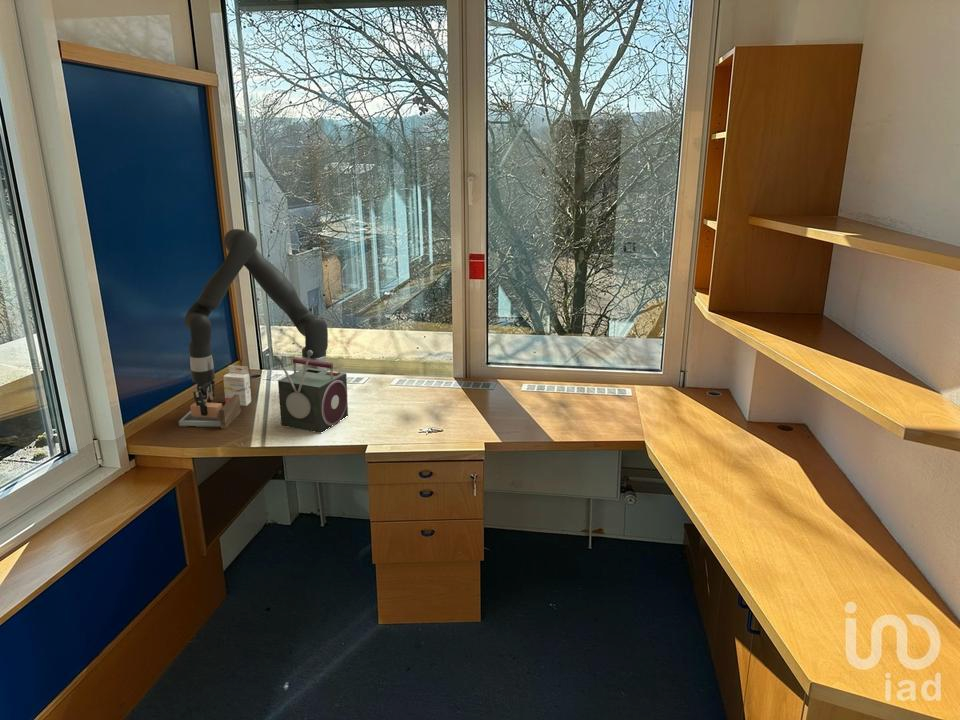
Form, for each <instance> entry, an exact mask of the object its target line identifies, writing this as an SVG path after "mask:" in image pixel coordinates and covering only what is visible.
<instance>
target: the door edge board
mask: <svg viewBox="0 0 960 720" xmlns="http://www.w3.org/2000/svg"><path fill="white" fill-rule="evenodd" d="M219 412H220V422H221V427H220V428H221V430H223V429H225V430H226V429H227V428H228V427H229V426H230V425H231V423H233V421H234V420H235V419H236V418H237V417H238V416H239V415H240V413H241V412H242V411H241V406H240V397H239V394H235V395H234V396H233V397H232V398H231V399H230V400H229V401H228V402H227V403H226V404H224V405H222V408H221V409H220V410H219Z"/></svg>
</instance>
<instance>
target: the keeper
mask: <svg viewBox="0 0 960 720" xmlns="http://www.w3.org/2000/svg"><path fill="white" fill-rule="evenodd" d="M178 426H179V427H187V426H196V428H197V427H201V428H203V427H204V428H221V422H220V417H218V418H212V417H198V416H191V410H190V411H188V412H187V413H186V414H185V415H184V416H183V417H181V418H180V419H179V420H178Z"/></svg>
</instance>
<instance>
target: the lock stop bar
mask: <svg viewBox="0 0 960 720" xmlns="http://www.w3.org/2000/svg"><path fill="white" fill-rule="evenodd" d="M189 407H190V411H191V416H198V417H212V418H218V417H220V412H219V410H220V409H221V408H222V407H223V403H221V402H220V403H218V402H212V403H207V412H208V414H207V415H206V416H203V415H201V411H200V406H197V405H196V401H195V402H193V403H191V405H189Z"/></svg>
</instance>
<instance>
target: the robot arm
mask: <svg viewBox="0 0 960 720" xmlns="http://www.w3.org/2000/svg"><path fill="white" fill-rule="evenodd" d="M223 241H224V242H223V243H224V246H225V248H226V250H227V251H228V253H227V256H226V257H225V259H224V261H223V262H222V263H221V265H220V267H219V268H218V269H217V270H216V271H215V272H214V273H213V274H212V276H210V278H209V280H208V281H207V282H206V284H205V285H204V287H203V289H202V291H201V293H200V295H199V296H198V298H197V300H196V301H195V302H194V303H193V304H192V306H191V307H190V308H189V309H188V311H187V313H186V314H185V316H184V320H183V321H184V325H185V327H186V328H187V329H188V330H190V331H189V332H190V339H191V340H190V341H189V343H188V345H189V346H188V350H189V358H190V359H189V360H190V361H189V363H190V364H189V365H190V372H191V373H190V374H191V380H192V382H193V383H195V384H196V391H193V399H194V401H195V402H196V405H197V406H200V411H201V415H203V416H206V415H207V414H208V412H207V403H213V400H214V397H215V389H216V388H215V387H216V386H215V383H216V381H215V378H216V376H215V368H214V359H213V356H212V343H211V339H212V323H211V320H210V318H209V316H210V315H211V313H212V312H213V311H215V310H217V309H218V308H219V306H220V305H221V303H222V300H223V299H224V297H225V296H226V294H227V292H228V291H229V289H230V287H231V285H232V284H233V282H234V280H235V278H237V276H238V274H239V273H240V271H242V268H243V267H245V268H246V269H247V270H248V272H249V273H250V274H251V276H252V277H253V279H254V280H255V281H256V282H257V284H258V285H259V286H260V287H261V288H262V290H263V291H264V292H265V293H266V294H267V296H268V297H269V298H270V299H271V300H272V301H273V302H274V303H275V304H276V306H278V307H279V308H280V309H281V310H282V311H283V312H284V313H285V314H286V315H287V317H289V319H290V321H291V322H292V324H293V325H294V327H296V329H297V331H298V332H299V334H301V335H302V336H304V338H305V340H304V341H305V343H304V345H305V346H304V347H303V348H302V349H301V358H302V359H307V357H308V355H307V351H308V350H311V351H312V352H313V354H312V356H310V358H309V360H315V361H322V362H327V350H328V348H329V347H328V346H329V342H328V341H329V338H328V337H329V332H328V324H327V322H326V320H325V319H324V318H322V317H321V316H318V315H316V314H314V313H312V312H311V311H310V310H309V309H308V307H306V306H305V304H304V303H303V302H302V301H301V299H300V298H299V296H298V292H297V291H296V289H295V287H294V286H293V284H292V283H291V282H290V281H289V279H288V278H287V277H286V276H285V274H284V273H283V272H282V271H281V270H279V268H277V267H276V266H275V265H274V264H273V263H271V262H270V261H269V260H268V259H266V258H265V257H264V256H263V255H262V253H260V251H259V250H258V249H257V247H258V241H257V237H256V236H255V235H254V234H253V233H252V232H250V231H248V230H244V229H239V228H235V229H234V228H233V229H231V230H228V231H227V232H226V234H225V236H224V239H223ZM307 367H309V368H315V369H322V370H328V368H324V367H318V366H311V365H307ZM304 368H305V365H304V364H302V369H304Z"/></svg>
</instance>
